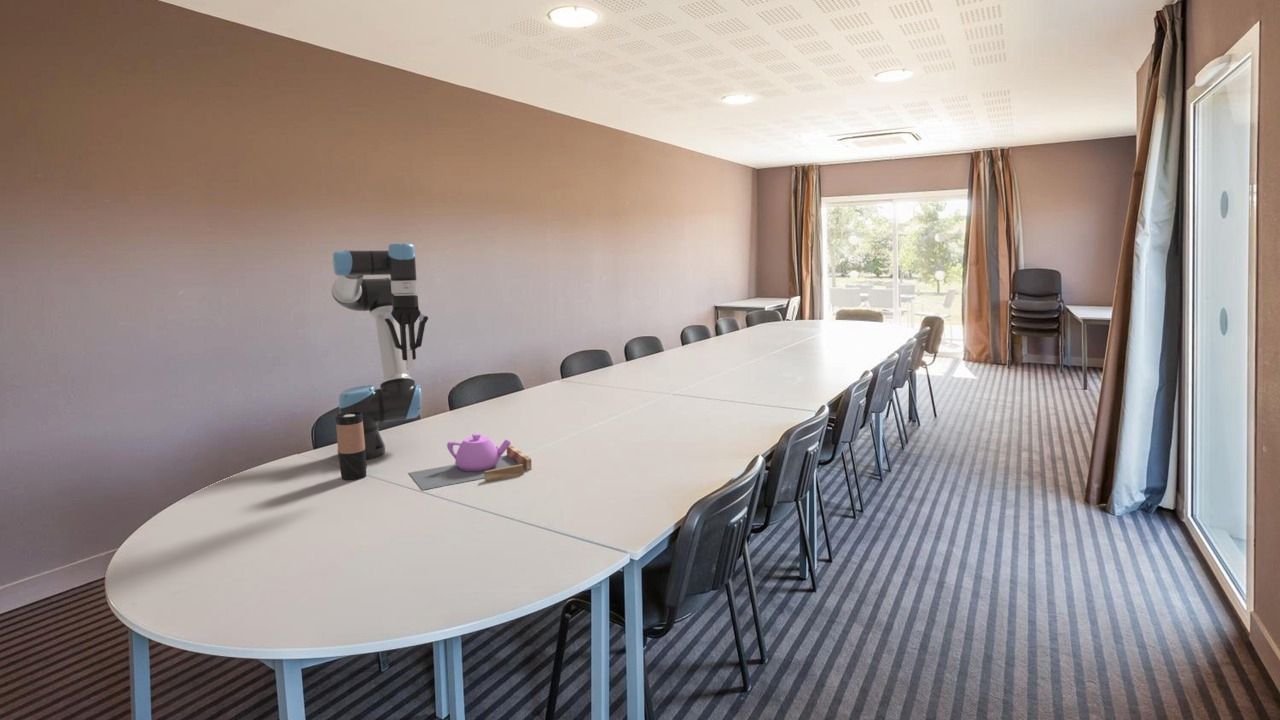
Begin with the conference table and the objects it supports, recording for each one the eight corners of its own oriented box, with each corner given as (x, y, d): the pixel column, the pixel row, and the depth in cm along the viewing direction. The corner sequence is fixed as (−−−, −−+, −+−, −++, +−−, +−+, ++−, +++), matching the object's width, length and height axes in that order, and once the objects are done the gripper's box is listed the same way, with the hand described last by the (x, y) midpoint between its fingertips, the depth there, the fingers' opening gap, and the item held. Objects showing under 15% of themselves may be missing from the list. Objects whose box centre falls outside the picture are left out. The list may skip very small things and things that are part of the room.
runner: (408, 473, 203) (408, 472, 203) (511, 454, 221) (511, 454, 220) (422, 490, 188) (422, 489, 188) (531, 469, 205) (531, 468, 205)
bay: (462, 460, 215) (461, 450, 214) (507, 452, 223) (507, 442, 223) (486, 481, 194) (485, 470, 194) (535, 472, 203) (535, 461, 202)
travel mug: (357, 481, 196) (352, 417, 192) (335, 480, 197) (329, 416, 194) (372, 473, 203) (367, 411, 200) (350, 472, 204) (345, 410, 201)
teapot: (512, 470, 204) (510, 437, 203) (446, 475, 200) (444, 442, 198) (511, 457, 218) (510, 426, 216) (450, 461, 213) (448, 430, 212)
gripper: (384, 295, 191) (390, 374, 194) (429, 294, 197) (434, 369, 201) (379, 294, 197) (385, 370, 201) (423, 293, 204) (428, 366, 207)
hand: (409, 370), depth 201 cm, fingers closed
